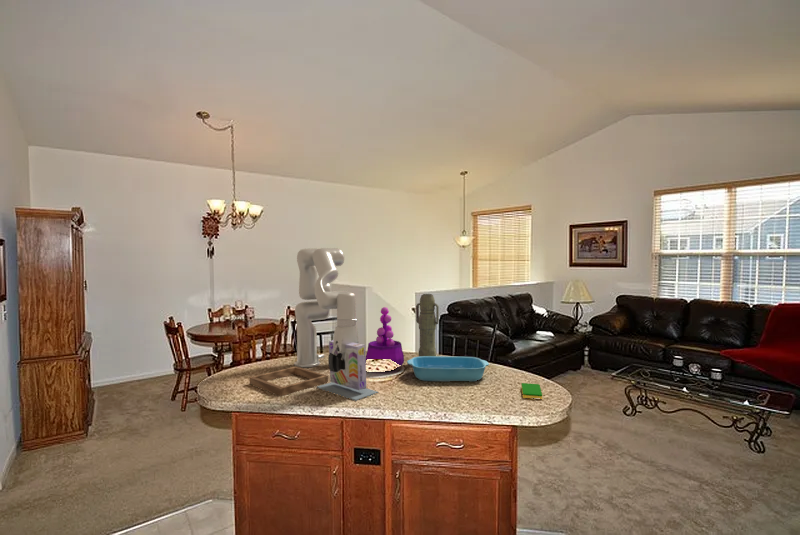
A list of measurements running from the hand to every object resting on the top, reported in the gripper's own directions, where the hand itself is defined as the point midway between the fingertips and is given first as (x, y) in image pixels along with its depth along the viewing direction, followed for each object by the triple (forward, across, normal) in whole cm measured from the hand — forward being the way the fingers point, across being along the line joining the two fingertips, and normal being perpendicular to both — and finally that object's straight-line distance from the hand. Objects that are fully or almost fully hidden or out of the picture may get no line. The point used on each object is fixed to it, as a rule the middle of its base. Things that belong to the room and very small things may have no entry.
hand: (346, 367), depth 173 cm
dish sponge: (+10, -46, +58) cm, 75 cm away
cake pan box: (+8, 0, 0) cm, 8 cm away
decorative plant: (+10, -34, -11) cm, 37 cm away
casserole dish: (+10, -44, +19) cm, 49 cm away
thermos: (+10, -57, -3) cm, 58 cm away
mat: (+10, 0, 0) cm, 10 cm away
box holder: (+10, +10, -26) cm, 29 cm away
